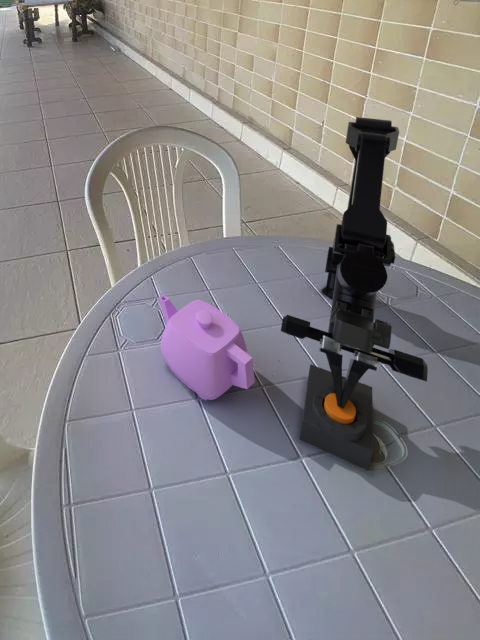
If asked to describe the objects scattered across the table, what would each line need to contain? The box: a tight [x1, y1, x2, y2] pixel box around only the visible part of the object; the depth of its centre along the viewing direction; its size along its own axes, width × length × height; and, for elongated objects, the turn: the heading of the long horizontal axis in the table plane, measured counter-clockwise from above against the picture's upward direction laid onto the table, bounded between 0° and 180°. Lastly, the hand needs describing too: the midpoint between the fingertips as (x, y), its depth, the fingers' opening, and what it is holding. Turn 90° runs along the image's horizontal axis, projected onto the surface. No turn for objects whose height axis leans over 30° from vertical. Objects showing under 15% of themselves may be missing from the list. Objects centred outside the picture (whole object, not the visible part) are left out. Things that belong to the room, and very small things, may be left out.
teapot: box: [158, 294, 256, 401], centre depth 75 cm, size 20×12×13 cm, turn 37°
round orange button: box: [323, 393, 356, 425], centre depth 63 cm, size 4×4×3 cm
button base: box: [299, 364, 374, 471], centre depth 66 cm, size 11×9×6 cm
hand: (340, 407), depth 62 cm, fingers closed, pressing on round orange button
